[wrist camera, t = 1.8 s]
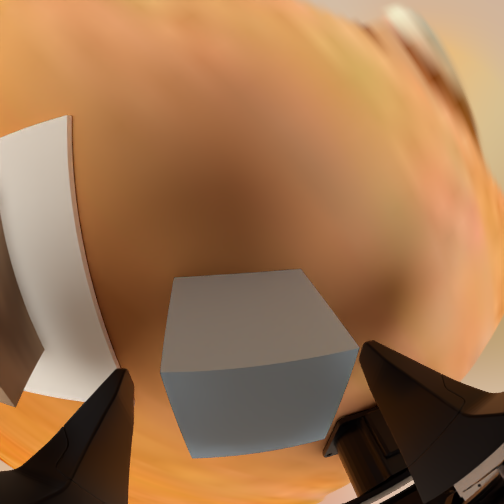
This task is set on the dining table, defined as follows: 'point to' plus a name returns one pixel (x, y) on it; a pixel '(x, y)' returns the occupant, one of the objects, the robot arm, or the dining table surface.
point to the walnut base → (14, 333)
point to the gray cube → (253, 362)
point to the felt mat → (52, 261)
